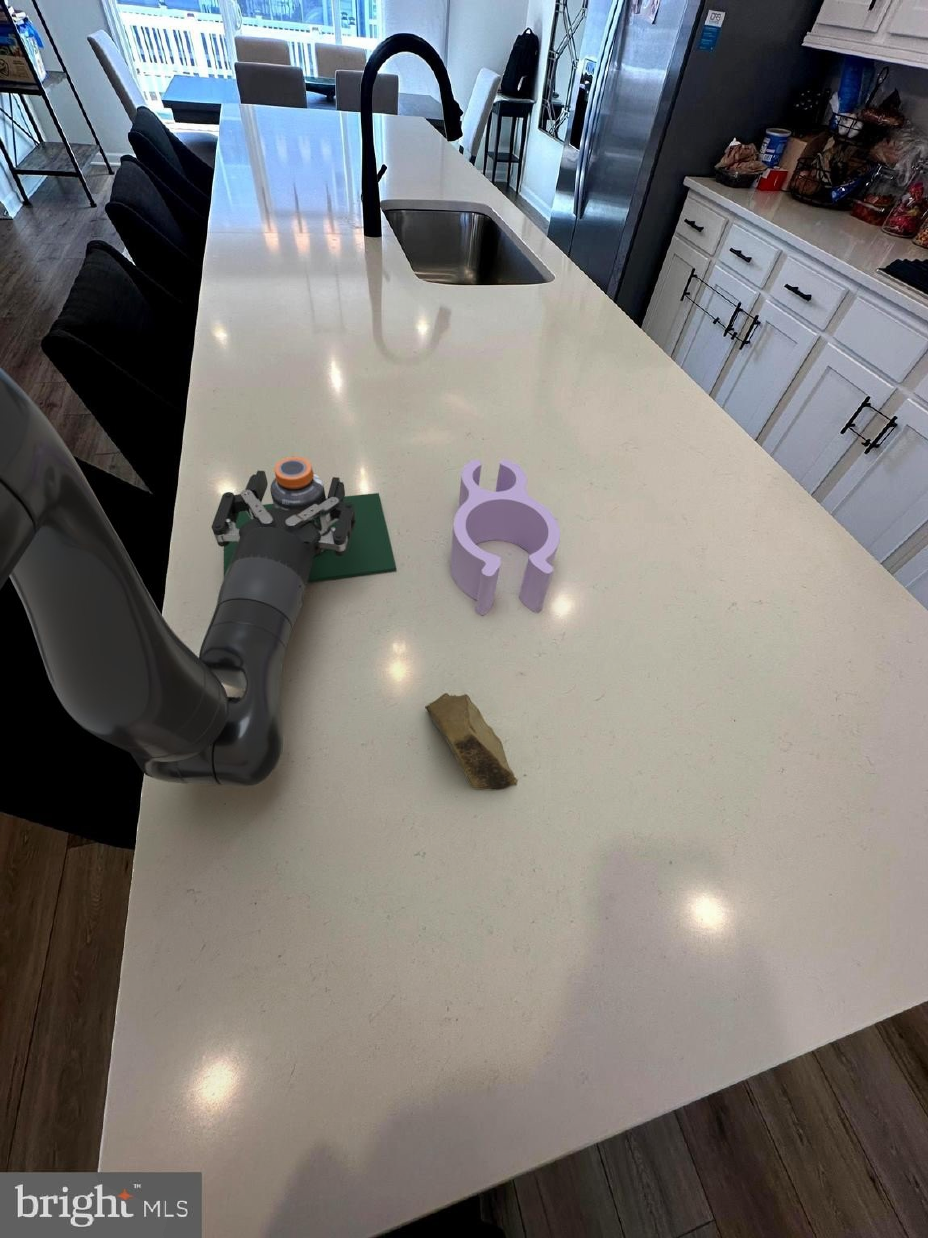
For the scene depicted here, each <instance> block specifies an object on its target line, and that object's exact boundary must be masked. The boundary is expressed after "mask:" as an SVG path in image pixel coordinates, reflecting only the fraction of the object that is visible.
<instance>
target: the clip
mask: <svg viewBox="0 0 928 1238" xmlns="http://www.w3.org/2000/svg"><path fill="white" fill-rule="evenodd" d="M482 465H483V464H482V461H481V460H480V459H478V458H477V459H476V458H474V459H472V460H470V461H468V462H467V463H466V464H465V465H464V467H463V468H462V470H461V474H460V475H461V477H460V486H459V497H458V508H457V511H456V513H455V515H454V519H453V525H452V537H451V538H452V539H451V548H450V560H449V569H450V574H451V577H452V579H453V581H454V583H455V584H456V586H457V587H458V588H459V589H460V590H461V591H462V592H463V593H464V594H466V595H467V596H468V597H470V598H472V599H474V600H475V601H476V605H475V613H476V614H477V615H480V616H485V615H487V613H488V612H489V611H490V610H491V608H492V606H493V604H494V599H495V595H496V594H495V593H496V589H497V585H498V578H499V574H500V569H501V562H502V558H501V556H499V555H496V554H493V553H490V552H488V551H486V550H484V549H482V548H481V547H479V546H478V545H477V544H480V543H483V542H487V541H503V542H507V543H511V544H513V545H516V546H518V547H520V548H522V549H523V550H525V551H526V552H527V553H528V554H529V556H528V559H527V562H526V567H525V571H524V575H523V579H522V582H521V587H520V591H519V594H518V598H519V599H520V601H521V603H522V604H523V605H524V606H525V607H527V608H528V609H529V610H531V611H532V612H533V613H539V612H540V611H541V610H542V608H543V605H544V601H545V598H546V595H547V592H548V589H549V585H550V582H551V579H552V575H553V573H554V566H553V564H554V561H555V557H556V554H557V551H558V547H559V544H560V541H561V528H560V525H559V522H558V520H557V519H556V517H555V515H554V514H553V513H552V512H551V510H550V509H548V508H547V507H546V506H545V505H544V504H542V503H541V502H539V501H538V500H536V499H534V498H533V497H532V496H531V495H530V494H529V493H528V490H527V485H528V477H527V474H526V472H525V470H524V469H523V468H522V467H521V466H520V465H519V464H517V463H515V462H514V461H512V460H510V459H507V458H501V459H500V461H499V466H498V467H499V468H498V473H497V479H496V484H495V485H496V486H495V491H494V490H493V491H492V490H488V489H486V488H483V487H481V486H480V479H481V471H482Z"/></svg>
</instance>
